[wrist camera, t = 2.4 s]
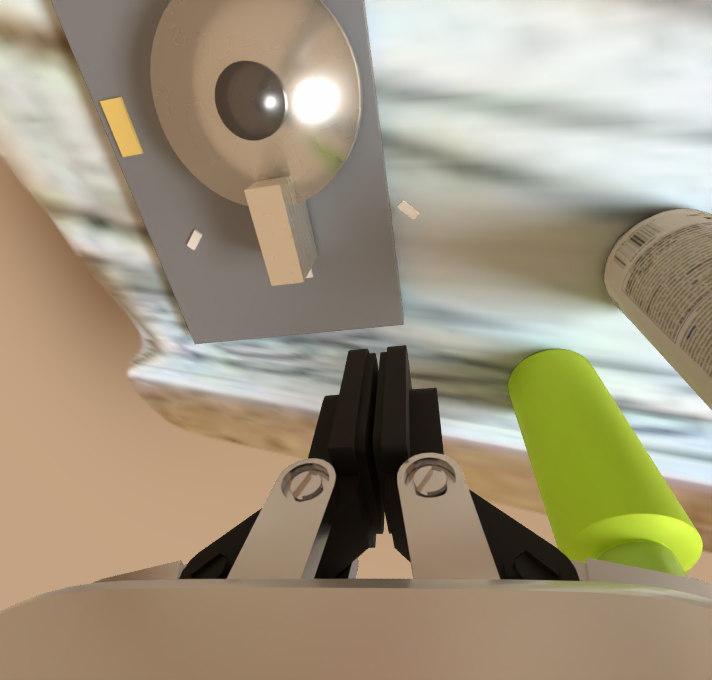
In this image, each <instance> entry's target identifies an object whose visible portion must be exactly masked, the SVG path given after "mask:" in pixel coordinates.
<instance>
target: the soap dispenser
mask: <svg viewBox="0 0 712 680" xmlns="http://www.w3.org/2000/svg"><path fill="white" fill-rule="evenodd" d="M508 392H509V395H510V399H511V402H512V405H513V408H514V411H515V414H516V417H517V421H518V424H519V427H520V430H521V433H522V436H523V439H524V443H525V446H526V449H527V452H528V455H529V458H530V461H531V465H532V468H533V471H534V474H535V477H536V480H537V483H538V487H539V490H540V493H541V496H542V499H543V502H544V506H545V509H546V512H547V515H548V518H549V521H550V524H551V527H552V531H553V534H554V537H555V539H556V543H557V546H558V549H559V550H560V551H561V552H562V553H563V554H565V555H566V556H567V557H568V558H569V560H574V561H579V562H584V563H586V558H591V559H596V560H602V561H607V562H612V563H617V564H622V565H627V566H632V567H638V568H643V569H648V570H653V571H658V572H663V573H668V574H673V575H679V576H684V577H687V575H686V573H685V572H687V571H688V570H689V569H690V568H691V567H693V565H694V564H695V563H696V562H697V561H698V559H699V557H700V555H701V553H702V548H703V544H702V539H701V537H700V535H699V533H698V532H697V530H696V528H695V527H694V525H693V524H692V522H691V521H690V519H689V517H688V516H687V514H686V513H685V511H684V510H683V508H682V506H681V505H680V503H679V502H678V500H677V499H676V497H675V495H674V494H673V492H672V491H671V489H670V488H669V486H668V484H667V483H666V481H665V480H664V478H663V477H662V475H661V473H660V472H659V470H658V469H657V467H656V466H655V464H654V462H653V461H652V459H651V458H650V456H649V455H648V453H647V451H646V450H645V448H644V447H643V445H642V444H641V442H640V440H639V439H638V437H637V436H636V434H635V433H634V431H633V429H632V428H631V426H630V425H629V423H628V422H627V420H626V419H625V417H624V415H623V414H622V412H621V411H620V409H619V408H618V406H617V404H616V403H615V401H614V400H613V398H612V397H611V395H610V393H609V392H608V390H607V389H606V387H605V386H604V384H603V382H602V381H601V379H600V378H599V376H598V375H597V373H596V371H595V370H594V368H593V367H592V365H591V364H590V362H589V361H588V360H587V359H586V358H585V357H583V356H582V355H580V354H578V353H576V352H573V351H569V350H563V349H552V350H545V351H541V352H538V353H536V354H533V355H531V356H529V357H528V358H526V359H524V360H523V361H522V362H521V363H519V364H518V365H517V367H516V368H515V369H514V370H513V372H512V374H511V376H510V378H509V382H508Z"/></svg>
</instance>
